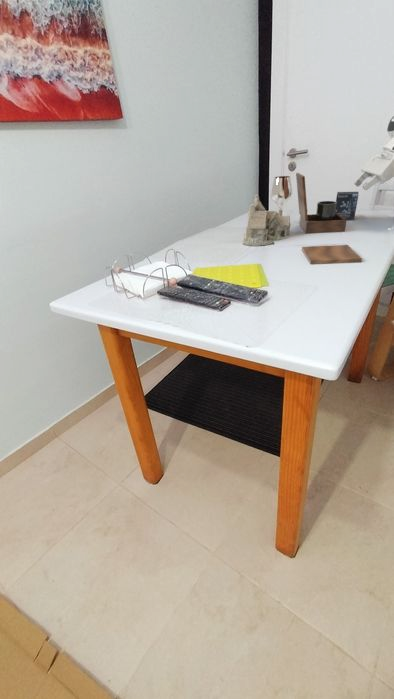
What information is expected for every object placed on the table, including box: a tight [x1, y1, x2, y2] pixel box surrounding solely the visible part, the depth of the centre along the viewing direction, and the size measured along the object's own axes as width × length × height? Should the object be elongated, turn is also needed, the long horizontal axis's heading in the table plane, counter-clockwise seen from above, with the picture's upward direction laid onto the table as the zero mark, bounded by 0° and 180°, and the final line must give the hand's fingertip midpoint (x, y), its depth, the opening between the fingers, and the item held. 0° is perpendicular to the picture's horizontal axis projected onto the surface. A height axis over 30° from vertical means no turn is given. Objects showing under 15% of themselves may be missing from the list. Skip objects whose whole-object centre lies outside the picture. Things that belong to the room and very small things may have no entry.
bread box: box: [299, 213, 347, 235], centre depth 125 cm, size 14×13×5 cm
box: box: [335, 191, 360, 221], centre depth 134 cm, size 8×6×11 cm
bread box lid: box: [295, 172, 309, 221], centre depth 120 cm, size 14×13×1 cm
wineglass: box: [270, 175, 293, 210], centre depth 131 cm, size 8×8×18 cm
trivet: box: [301, 244, 363, 265], centre depth 101 cm, size 14×14×1 cm
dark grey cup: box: [315, 200, 337, 221], centre depth 123 cm, size 6×6×9 cm
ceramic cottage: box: [242, 194, 291, 247], centre depth 117 cm, size 16×16×15 cm
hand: (359, 186), depth 118 cm, fingers open, 8 cm apart
